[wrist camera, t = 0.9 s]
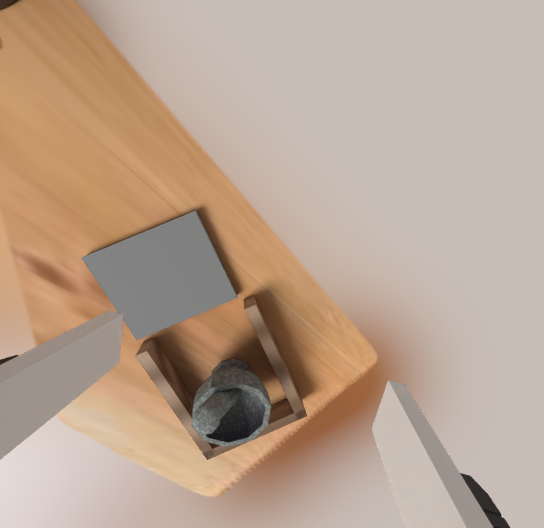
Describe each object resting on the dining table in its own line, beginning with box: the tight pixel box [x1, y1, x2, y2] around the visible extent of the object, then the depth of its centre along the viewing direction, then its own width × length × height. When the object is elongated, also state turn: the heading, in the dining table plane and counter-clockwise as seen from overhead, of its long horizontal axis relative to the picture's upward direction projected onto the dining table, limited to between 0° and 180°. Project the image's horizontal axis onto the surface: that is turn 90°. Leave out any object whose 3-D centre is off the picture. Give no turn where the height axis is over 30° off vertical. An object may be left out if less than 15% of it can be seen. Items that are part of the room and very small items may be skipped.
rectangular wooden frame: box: [136, 295, 307, 460], centre depth 36 cm, size 20×16×3 cm
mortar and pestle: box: [191, 359, 271, 447], centre depth 32 cm, size 11×9×12 cm
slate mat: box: [82, 210, 237, 340], centre depth 32 cm, size 12×14×1 cm
